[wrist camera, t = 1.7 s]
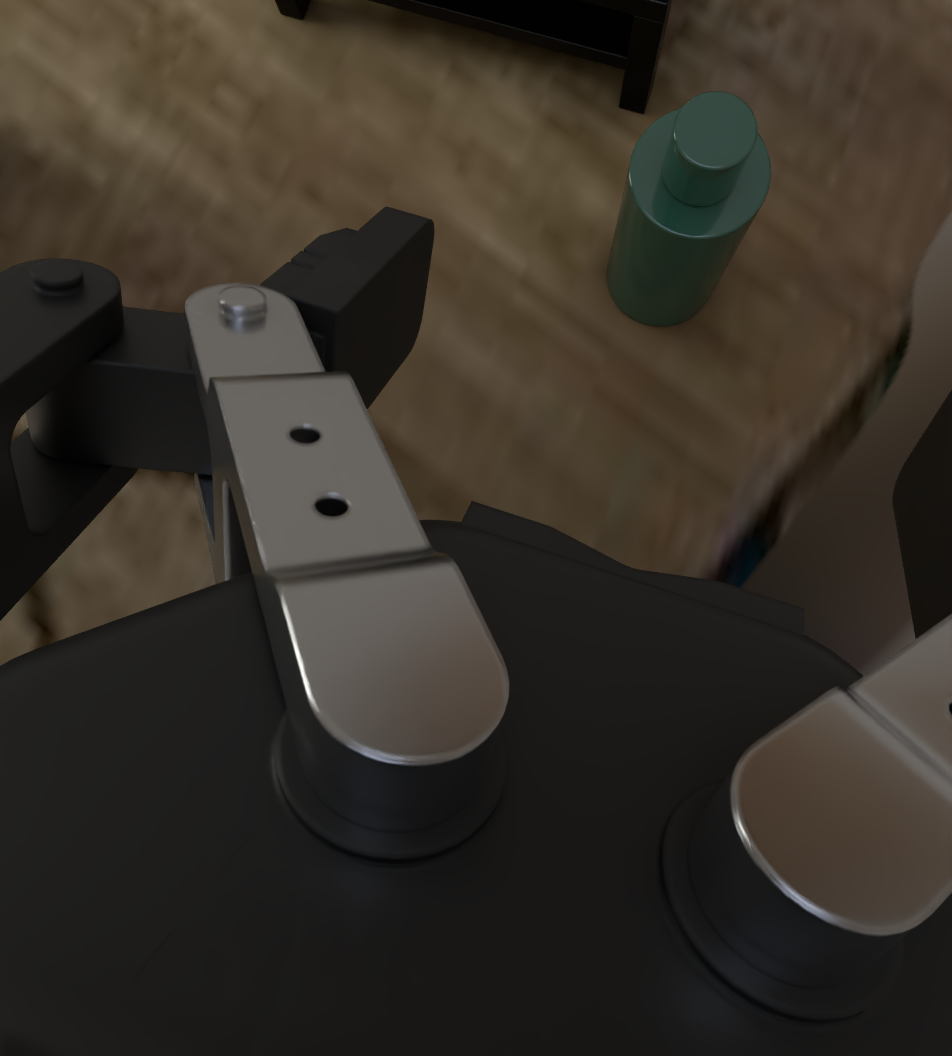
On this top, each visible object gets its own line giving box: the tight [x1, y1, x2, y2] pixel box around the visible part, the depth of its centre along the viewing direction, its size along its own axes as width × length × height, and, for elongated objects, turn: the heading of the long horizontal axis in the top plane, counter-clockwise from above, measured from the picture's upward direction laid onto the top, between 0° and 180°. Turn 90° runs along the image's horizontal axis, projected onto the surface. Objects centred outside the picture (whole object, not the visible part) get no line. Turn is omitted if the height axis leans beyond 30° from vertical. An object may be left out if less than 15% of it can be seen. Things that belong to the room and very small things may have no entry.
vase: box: [607, 91, 771, 326], centre depth 32 cm, size 5×5×12 cm
